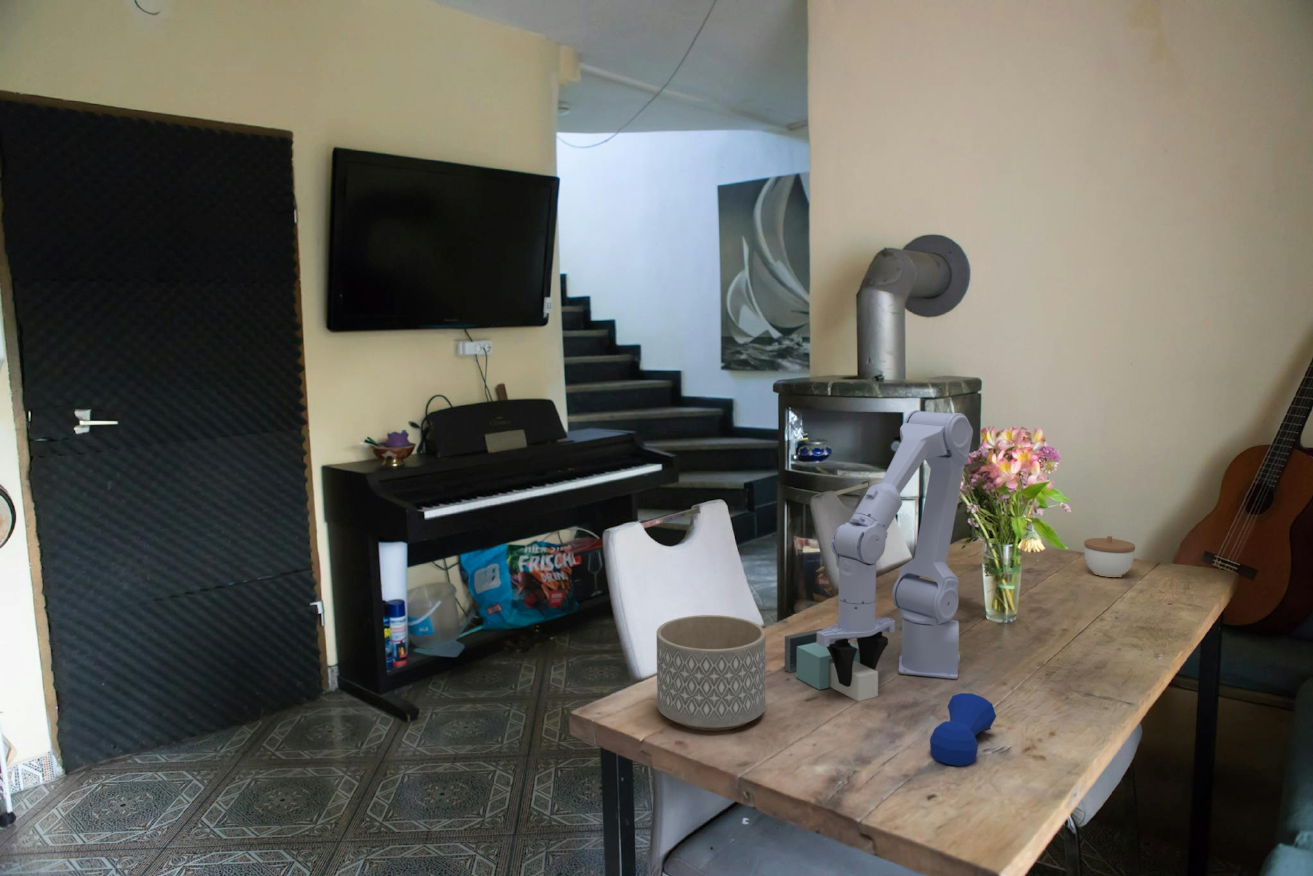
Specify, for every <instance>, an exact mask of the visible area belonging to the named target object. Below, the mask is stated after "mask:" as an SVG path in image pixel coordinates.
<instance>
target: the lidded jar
mask: <svg viewBox="0 0 1313 876" xmlns="http://www.w3.org/2000/svg"><path fill="white" fill-rule="evenodd" d="M1083 545H1084V546H1083V547H1084V559H1085V563H1086V565H1087V567H1088V568H1089V569H1090V570H1091V572H1093V573H1094V572H1096V573H1099V574H1106V575H1119V574H1124V575H1125V574H1126V572H1129V571H1130V570H1131V568H1132V566H1133V562H1134V558H1135V550H1136V544H1134V543H1133V542H1130V541H1127V540H1123V539H1118V538H1113V536H1112V535H1107V536H1106V537H1095V538H1087V539H1085V540H1084V542H1083Z"/></svg>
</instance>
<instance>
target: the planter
mask: <svg viewBox="0 0 1313 876" xmlns="http://www.w3.org/2000/svg"><path fill="white" fill-rule="evenodd" d="M766 637H767V636H766V632H765V629H764V627H763V626H761V625H760V624H758V623H756V622H754V621H750V620H748V619H745V618H740V617H736V616H729V615H717V614H716V615H715V614H714V615H713V614H703V615H701V614H700V615H691V616H684V617H679V618H675V619H671V620H669V621H667V622H665V623H663V624H661V625H659V627H658V628H657V629H656V700H657V701H656V702H657V704H656V705H657V709H658V711H659V712H660V714H662V715H663V716H664V717H666V718H667V719H669V720H671V721H673V722H674V723H676V724H678V725H680V726H681V727H682V726H683V727H686V728H688V729H692V730H697V731H698V730H699V731H712V732H715V731H716V732H718V731H726V730H733V729H736V728H739V727H742V726H744V725H746V724H748V723H750V722H751V721H754V720H755V719H757V718H759V717H760V716H761V715H762V714H763V713H764V711H765V709H766Z"/></svg>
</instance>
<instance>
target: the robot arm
mask: <svg viewBox="0 0 1313 876" xmlns="http://www.w3.org/2000/svg"><path fill="white" fill-rule="evenodd" d="M899 435H900V443H899V446H898V447H897V449H896V451H895V453H894V455H893V457H892V460H891V462H890V464H889V465H888V468H887V470H886V472H885V474H884V476H883V478H882V480H881V481H880V483H877V484H873V485H870V487H869V488H868V489H867V491H866V492H865V494H864V496H863V497H862V500H861V501H860V503H859V504H858V506H857V508H855V511H854V513H853V514H852V515H851V518H850V519H849V521H848V522H845V523H844V524H841V525H840V526H839V527H838V526H837V528H836V530H835V531H834V533H833V536H832V537H833V538H832V540H831V541H830V547H831V551H832V552H833V554H834V556H835V565H836V566H837V569H838V619H836V623H835V624H834V625H831V626H829V627H826V628H825V629H824V630H822V631H818V632H817V644H819V645H821V646H823V647H827V649H828V651H829V653H830V655H831V657H832V659H833V662H834V665H835V668H836V672H837V676H838V680H839V683H840V684H842V685H844V686H846V687H849V686H850V685H851V681H852V667H853V661H854V657H855V654H856V652H857V648H855V647H853V646H851V645H850V643H851V642H850V643H848V642H849V641H850V640H851V641H852V640H855V639H856V643H857V646H858V648H859V655H860V664H862V665H864V666H866V667H869V668H871V669H873V670H875V671H876V670H877V667H878V663H879V661H880V658H881V656H882V654H883V652H884V651H885V649H886V647H887V646H888V645H889V638H888V637H887V636H884V635H883V634H884V633H890V634H891V633H895V632H896V620H894V619H893V618H889V617H878V618H876V603H877V602H876V597H877V596H876V593H877V592H876V589H877V588H876V587H877V586H876V585H877V582H876V581H877V562H878V561H879V560H880V559H881V557H882V556H883V555H884V553H885V550H886V540H887V538H888V534H889V533H888V529H889V527H890V525H892V523H893V521H894V519H895V518H896V516H897V514H898V512H899V511H900V509H901V507H902V505H903V501H902V498H901V493H902V491H904V489H905V488H906V486H907V485H908V483H909V482H910V481H911V479H912V478H913V476H914V475H915V473H916V472H917V470H918V469H920V466H921V465H922V464H923V463H924V461H925V462H926V463H927V465H928V466H929V468H930V472H929V477H928V483H927V488H926V494H925V499H924V504H923V510H922V514H921V515H922V516H921V520H920V526H919V531H918V536H917V542H916V547H915V552H914V557H913V559H911V560H910V561H907V562H906V563H905V564H903V565H902V566H901V567H900V568H899V574H898V577H897V579H896V581H895V582H894V585H893V587H892V591H891V593H892V594H891V596H892V602H893V605H894V606H895V608H897V609H898V615H899V616H901V617H902V618H901V619H902V623H901V624H902V625H901V629H902V630H901V633H902V634H901V655H899V661H898V673H899V674H900V675H910V676H920V677H932V678H942V679H953V680H957V679H959V665H960V664H961V663H960V662H961V654H960V652H959V647H960V646H959V644H960V641H959V639H960V633H959V632H960V627H959V625H960V624H959V620H954V619H952V618H953V617H954V616H955V614H956V613H957V610H958V607H959V602H960V601H959V599H960V598H959V595H958V593H959V591H958V589H959V587H958V586H959V583H960V581H959V578H958V577H957V575H955V573H954V572H953V571H952V570H951V568H949V566H948V564H947V562H948V557H949V551H950V548H951V541H952V537H953V531H954V526H955V525H954V524H955V521H956V519H955V518H956V515H957V509H958V503H959V498H960V493H961V487H962V481H963V475H964V470H965V465H967V464H968V462H969V461H968V460H969V457H970V456H969V455H970V449H971V446H972V439H973V435H974V430H973V427H972V425H971V423H970V422H969V420H968V418H967V416H966V415H965V414H963V413H959V412H957V413H956V412H954V413H948V412H935V411H922V410H918V409H915V410H911V411H910V412H909V413H908V414H907V415H906V417H905V419H904V421H903V423H902V425H901V426H900V428H899ZM921 577H923V578H921ZM925 578H928V579H925ZM929 579H931V580H929ZM933 580H934V581H933Z"/></svg>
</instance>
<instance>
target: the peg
mask: <svg viewBox="0 0 1313 876" xmlns="http://www.w3.org/2000/svg"><path fill="white" fill-rule="evenodd" d="M829 688H832V689H833V690H836V691H837V692H839V693H841V694H843V695H845V696H847V697H849V698H851V699H853V700H855V701H857V702H862V701H865V700H868V699H872V698H876V697H878V696H879V671H876V670H873V669H871V668H869V667H866V666H864V665H862V664H860V663H858V662H856V661H853V667H852V681H851V685H850V686H849V687H846V686H844V685H842V684H840V683H839V680H838V676H837V672H836V668H835V665H834V662H833V659H830V660H829Z"/></svg>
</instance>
